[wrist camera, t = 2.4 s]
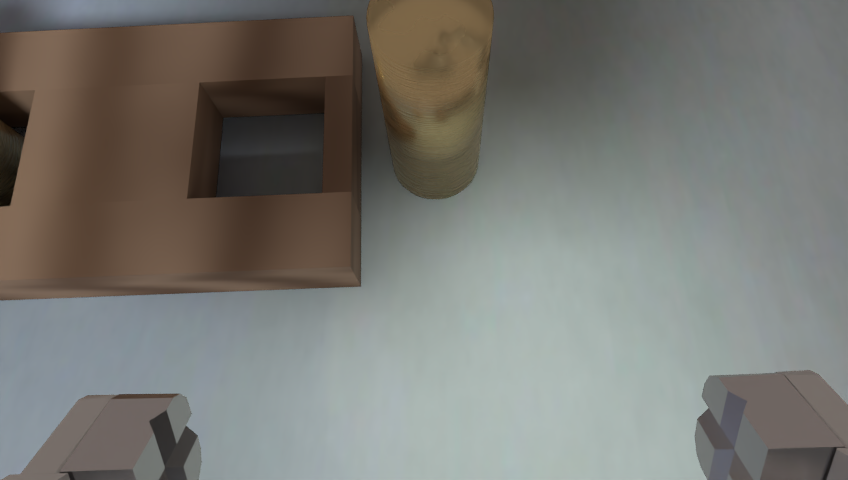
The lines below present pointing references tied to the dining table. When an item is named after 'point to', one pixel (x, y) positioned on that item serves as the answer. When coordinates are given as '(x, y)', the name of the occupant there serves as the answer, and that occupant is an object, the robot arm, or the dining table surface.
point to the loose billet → (432, 88)
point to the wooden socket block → (175, 159)
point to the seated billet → (9, 161)
